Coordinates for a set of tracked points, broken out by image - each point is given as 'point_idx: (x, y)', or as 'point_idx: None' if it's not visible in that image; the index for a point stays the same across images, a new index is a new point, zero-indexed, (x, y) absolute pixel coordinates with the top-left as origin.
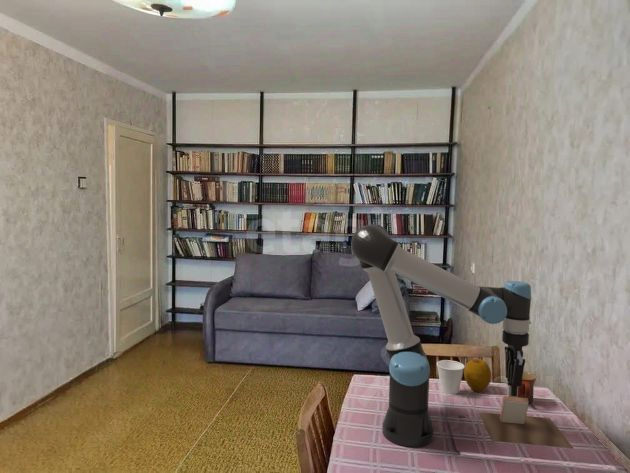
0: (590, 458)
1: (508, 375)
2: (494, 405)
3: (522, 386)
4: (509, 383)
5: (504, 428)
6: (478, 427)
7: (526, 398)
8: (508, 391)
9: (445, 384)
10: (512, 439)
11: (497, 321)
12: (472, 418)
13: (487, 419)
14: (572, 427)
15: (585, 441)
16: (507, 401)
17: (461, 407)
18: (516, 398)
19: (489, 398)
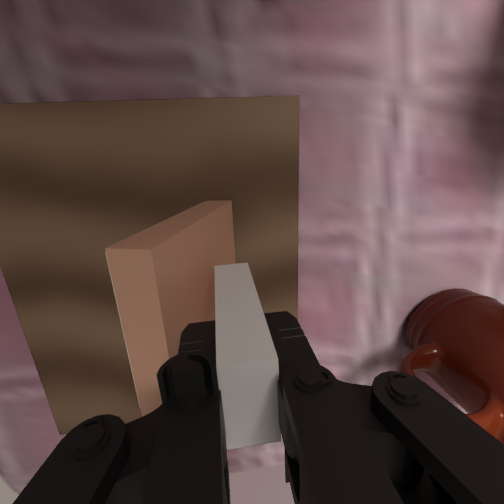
0: (47, 455)
1: (318, 462)
2: (416, 208)
3: (481, 386)
4: (190, 389)
5: (135, 205)
6: (150, 68)
7: None
8: (227, 314)
9: None
10: (23, 222)
11: None
12: (254, 53)
13: (217, 131)
14: (264, 444)
15: None
16: (110, 268)
17: (384, 7)
18: (153, 350)
19: (489, 197)
